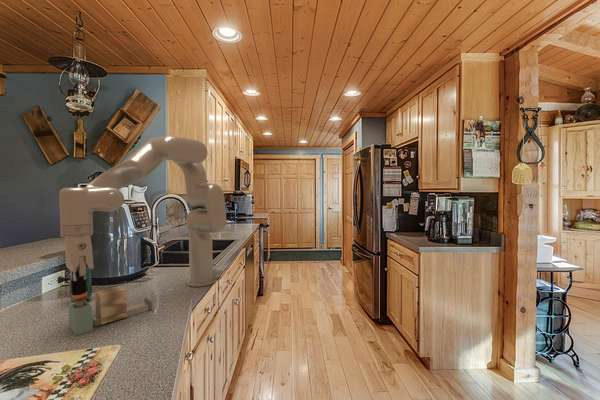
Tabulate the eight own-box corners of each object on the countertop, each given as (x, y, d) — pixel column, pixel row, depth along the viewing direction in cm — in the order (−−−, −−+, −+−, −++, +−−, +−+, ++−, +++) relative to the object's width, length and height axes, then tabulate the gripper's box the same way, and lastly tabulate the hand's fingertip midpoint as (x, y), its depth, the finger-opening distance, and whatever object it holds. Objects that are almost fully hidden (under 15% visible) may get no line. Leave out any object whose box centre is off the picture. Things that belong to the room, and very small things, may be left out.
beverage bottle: (81, 305, 105) (78, 248, 104) (65, 304, 106) (62, 247, 105) (97, 298, 111) (95, 244, 110) (82, 297, 112) (80, 244, 112)
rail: (147, 306, 104) (146, 297, 104) (152, 310, 101) (152, 300, 101) (91, 322, 92) (90, 312, 91) (95, 327, 89) (94, 316, 88)
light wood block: (121, 312, 98) (120, 285, 98) (126, 316, 95) (126, 289, 94) (96, 319, 93) (95, 291, 92) (101, 324, 89) (100, 295, 89)
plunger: (86, 310, 90) (85, 290, 90) (89, 314, 88) (88, 293, 87) (71, 314, 88) (70, 293, 87) (74, 318, 85) (73, 296, 85)
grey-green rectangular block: (85, 322, 92) (84, 299, 92) (93, 330, 87) (92, 306, 86) (69, 326, 89) (68, 303, 89) (76, 335, 84) (75, 311, 83)
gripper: (100, 231, 84) (101, 296, 85) (85, 226, 94) (87, 284, 95) (66, 234, 79) (68, 304, 79) (55, 229, 89) (57, 290, 89)
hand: (78, 293), depth 87 cm, fingers closed
